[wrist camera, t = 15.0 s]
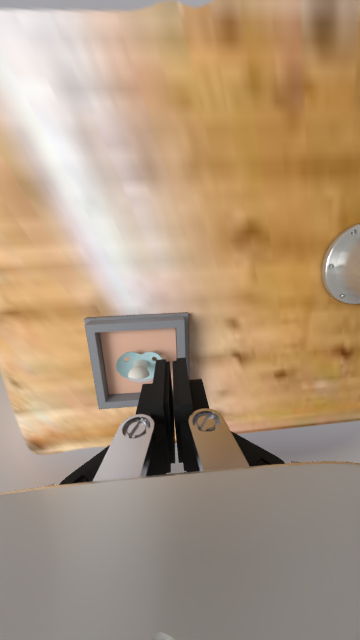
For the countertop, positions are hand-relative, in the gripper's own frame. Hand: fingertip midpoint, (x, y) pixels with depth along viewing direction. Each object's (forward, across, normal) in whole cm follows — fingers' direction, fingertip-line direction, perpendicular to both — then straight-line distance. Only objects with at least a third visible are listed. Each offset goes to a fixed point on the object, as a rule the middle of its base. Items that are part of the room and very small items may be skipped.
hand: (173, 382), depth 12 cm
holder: (+22, +6, +9) cm, 25 cm away
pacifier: (+21, +6, +10) cm, 24 cm away
